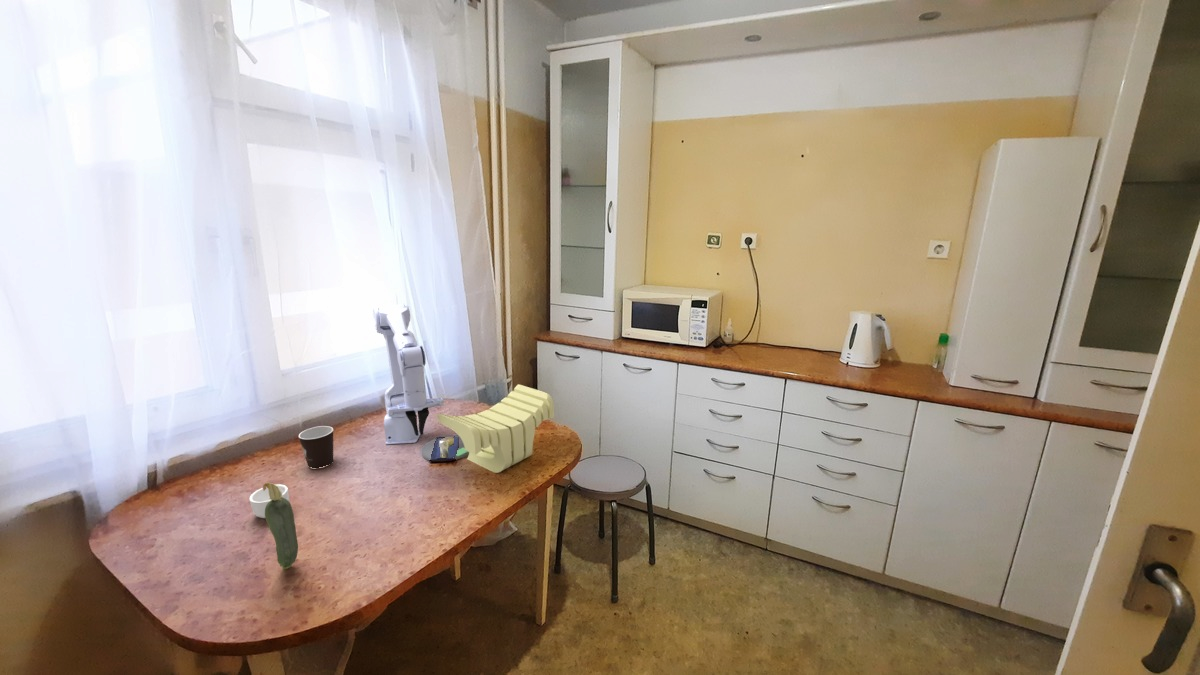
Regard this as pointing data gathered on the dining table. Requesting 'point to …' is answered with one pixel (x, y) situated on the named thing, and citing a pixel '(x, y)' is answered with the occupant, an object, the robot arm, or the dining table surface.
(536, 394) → the slatted curved stool
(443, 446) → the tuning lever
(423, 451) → the dial plate
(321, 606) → the dining table surface
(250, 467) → the dining table surface
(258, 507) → the teacup
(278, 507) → the vegetable
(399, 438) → the robot arm
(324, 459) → the coffee mug
